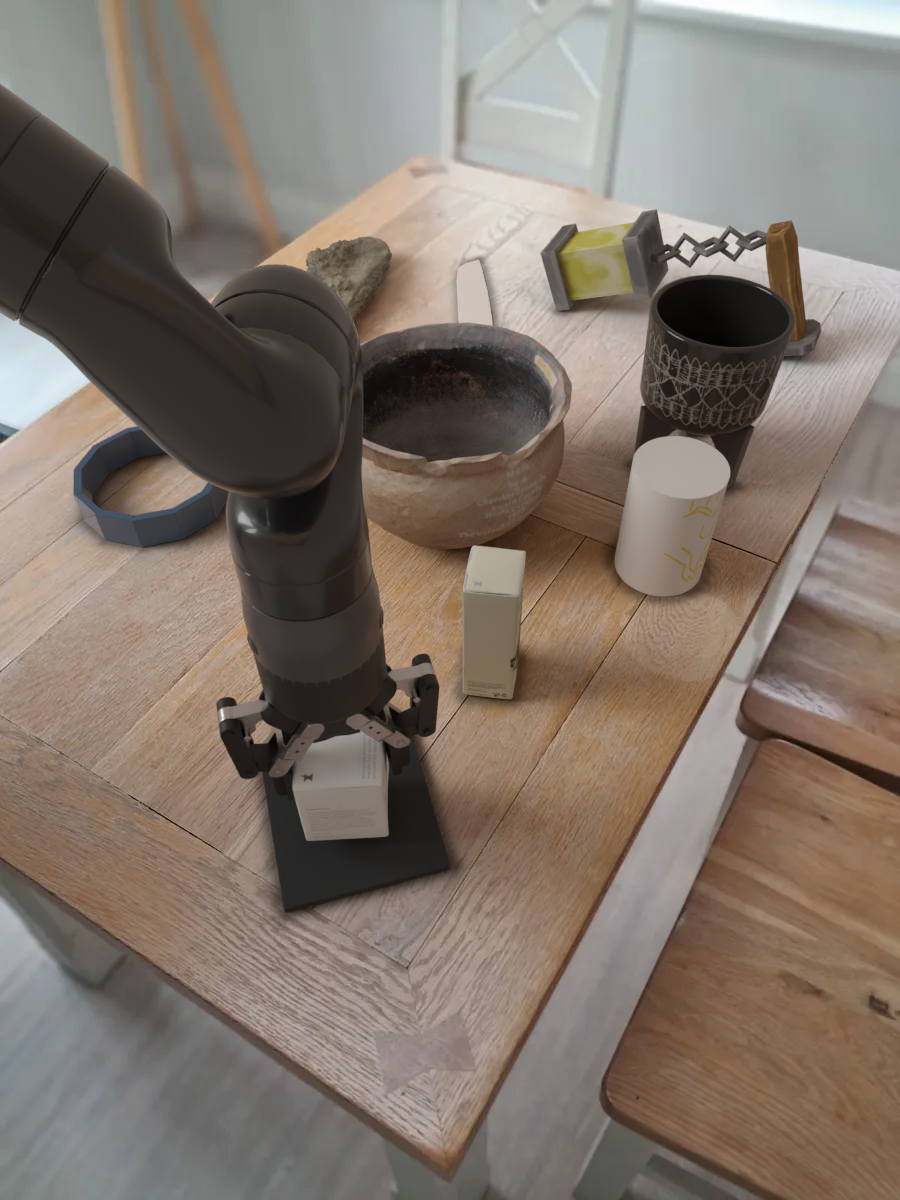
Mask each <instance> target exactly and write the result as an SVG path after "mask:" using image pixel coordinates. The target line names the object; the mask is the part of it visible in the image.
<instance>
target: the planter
mask: <svg viewBox="0 0 900 1200" xmlns="http://www.w3.org/2000/svg"><path fill="white" fill-rule="evenodd" d="M648 315H649V316H648V322H647V329H646V339H645V347H644V353H643V362H642V370H641V377H640V387H639V390H640V396H641V399H642V402H643V404H644V405H640V408H639V415H638V423H637V430H636V438H635V444H634V453H633V455H634V454H635V452H636V451H637V450H638V448H639V447H640V446H642V445H643V444H645V443H646V442H648V441H650V440H653V439H656V438H660V437H666V436H671V434H672V433H674V432H675V431H681V432H684V433H685V435H686V436H690V437H696V438H698V436H709V437H710V439H711V441H712V443H713V445H714V448H715V449H717V450H718V451H719V452H720V453H721V454H722V455H723V456H724V457H725V458H726V460H727V462H728V464H729V467H730V478H729V482H728V485H727V488H726V491H728V490H730V489H731V488H732V487H733V486H735V482H736V480H737V477H738V474H739V472H740V468H741V467H742V463H743V461H744V458H745V455H746V452H747V449H748V447H749V445H750V442H751V439H752V436H753V433H754V431H755V428H756V427H755V426H754V425H753V424H754V423H755V422H756V421H757V420H758V419H759V418H760V417H761V416H762V414H763V413H764V411H765V409H766V406H767V403H768V401H769V398H770V395H771V393H772V390H773V387H774V385H775V382H776V379H777V376H778V374H779V371H780V369H781V366H782V363H783V361H784V357H785V356H784V355H785V353H786V350H787V347H788V345H789V342H790V339H791V337H792V334H793V331H794V328H795V325H796V317H795V314H794V311H793V309H792V308H791V306H790V304H789V303H788V302H787V301H786V300H785V299H784V298H783V297H782V296H780V295H779V294H778V293H776V292H775V291H773V290H771V289H770V287H767V286H765V285H763V284H760V283H758V282H757V281H756V282H755V281H753V280H749V279H746V278H743V277H738V276H737V277H736V276H732V275H723V274H698V275H690V276H685V277H681V278H678V279H675V280H672V281H670V282H669V283H666V284H664V285H663V286H662V287H660V288H659V289H658V291H657V290H656V292H655V293H654V294H653V296H652V298H651V301H650V307H649V314H648Z"/></svg>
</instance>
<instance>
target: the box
mask: <svg viewBox="0 0 900 1200" xmlns="http://www.w3.org/2000/svg"><path fill="white" fill-rule="evenodd" d="M526 556H527V552H526V550H519V549H511V548H501V547H494V546H493V547H492V546H484V545H474V546H471V548H470V552H469V556H468V560H467V565H466V570H465V574H464V580H463V586H462V596H461V597H462V599H461V600H462V605H461V606H462V613H461V614H462V619H461V621H462V622H461V623H462V694H463V695H468V696H476V697H484V698H493V699H502V700H512V699H513V698H514V692H515V687H516V681H517V675H518V667H519V666H518V665H519V657H520V656H519V655H520V645H521V644H520V642H521V641H520V640H521V628H522V627H521V625H522V613H523V599H524V598H523V597H524V595H523V594H524V581H525V580H524V577H525V567H526Z"/></svg>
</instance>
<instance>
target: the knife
mask: <svg viewBox="0 0 900 1200" xmlns="http://www.w3.org/2000/svg"><path fill="white" fill-rule="evenodd" d="M456 272H457V273H456V298H457V299H456V301H457V316H458V317H457V318H458V323H468V322H469V323H476V324H483V325H492V326H494V324H493V316H492V309H491V308H492V307H491V304H490V303H491V302H490V297H489V292H488V291H489V290H488V287H487V283H486V279H485V275H484V271H483V267H482V264H481V261H480V259H476V260H475V259H474V260H471V261H468V262H464V264H462V265H461V266H459V267H458V269H457V271H456Z"/></svg>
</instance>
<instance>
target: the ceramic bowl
mask: <svg viewBox="0 0 900 1200" xmlns="http://www.w3.org/2000/svg"><path fill="white" fill-rule="evenodd" d="M360 346H361V352H362V364H363V451H362V489H363V499H364V506H365V511H366V515H367V519H369V520H370V521H371V522H373V523H374V524H375V525H377V526H379V527H380V528H382V529H383V530H384V531H386V532H388V533H390V534H391V535H394V536H396V537H398V538H399V539H401V540H404V541H406V542H408V543H411V544H413V545H416V546H418V547H422V548H429V549H437V550H455V549H463V548H468V547H469V548H470V547H472V546H474V545H475V546H480V545H483V544H484V543H488V542H489V541H491V540H494V539H497V538H499V537H501V536H503V535H504V534H507V533H508V532H510V531H511V530H513V529H515V528H517V526H519V525H520V524H521V523H522V522H524V521H525V520H526V519H527V518H528V517H529V516H530V515H531V514H532V513H533V512H534V511H535V510H536V508H538V506H539V505H541V504H542V502H543V501H544V500H545V499H546V497H547V496H548V495H549V493H550V491H551V490H552V488H553V487H554V484H555V483H556V480H557V479H558V477H559V474H560V471H561V468H562V465H563V460H564V454H565V436H566V435H565V423H564V419H565V417H566V415H567V414H568V412H569V410H570V409H571V403H572V393H573V383H572V381H571V380H570V378H569V375H568V373H567V371H566V369H565V367H564V366H563V365H562V363H560V361H559V360H558V359H557V358H556V357H555V355H554V354H553V353H552V352H551V351H550V350H549V349H548V348H547V347H545V346H544V345H543V344H542V343H540V342H539V341H538V340H536V339H534V338H533V337H532V336H530V335H527V334H523V333H520V332H518V331H515V330H513V329H510V328H506V327H502V326H498V325H497V326H496V325H493V326H492V325H483V324H476V323H469V322H468V323H459V322H443V323H442V322H441V323H429V324H422V325H417V326H413V327H408V328H405V329H400V330H396V331H392V332H388V333H383V334H380V335H376V336H373V337H370V338H369V339H367V340H365V341H363V342H362V343H361V342H360Z"/></svg>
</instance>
